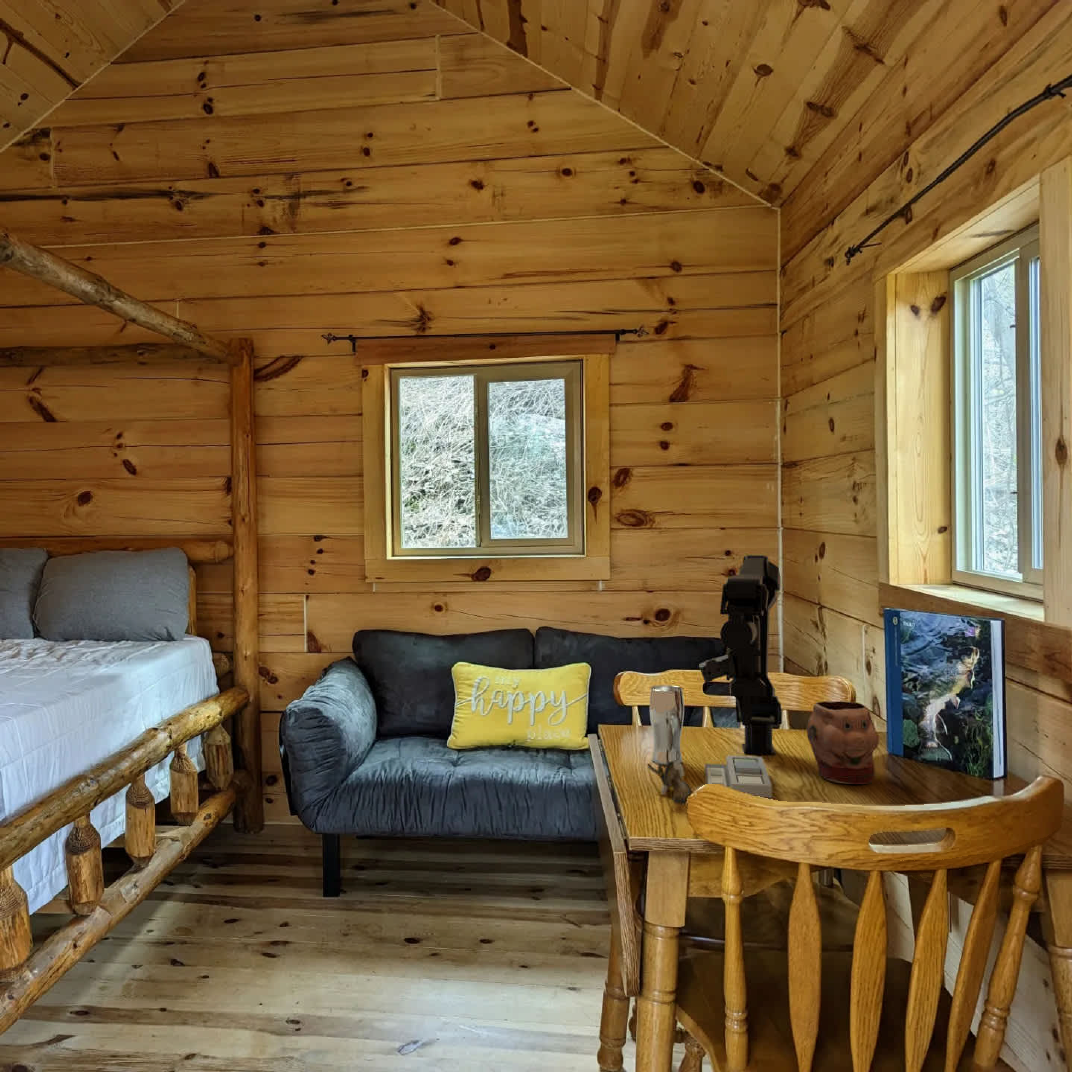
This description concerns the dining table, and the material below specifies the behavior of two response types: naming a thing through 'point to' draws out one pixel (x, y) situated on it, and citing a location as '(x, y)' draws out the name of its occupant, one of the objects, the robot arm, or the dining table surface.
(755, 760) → the sage key
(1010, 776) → the dining table surface
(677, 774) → the eagle figurine
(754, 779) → the ivory key
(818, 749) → the decorative planter
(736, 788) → the keypad
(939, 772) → the dining table surface
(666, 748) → the beer glass
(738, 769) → the slate key
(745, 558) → the robot arm
